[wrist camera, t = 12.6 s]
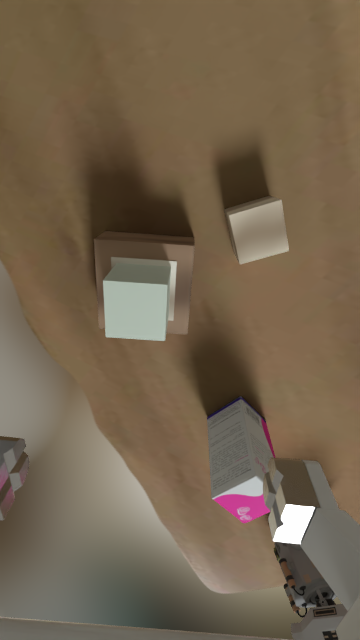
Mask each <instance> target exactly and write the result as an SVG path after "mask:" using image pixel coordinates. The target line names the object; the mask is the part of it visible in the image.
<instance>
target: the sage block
mask: <svg viewBox="0 0 360 640" xmlns="http://www.w3.org/2000/svg"><path fill="white" fill-rule="evenodd" d="M170 280H171V267H168V266H154V265H139V264H124V263H116V265H115V266H114V267H113V268H112V270H111V271H110V272H109V273H108V275H107V276H106V277H105V279H104V280H103V291H104V312H105V332H106V337H113V338H127V339H142V340H157V341H165V337H166V331H167V324H168V317H169V300H170Z"/></svg>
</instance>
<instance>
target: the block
mask: <svg viewBox="0 0 360 640" xmlns="http://www.w3.org/2000/svg"><path fill="white" fill-rule="evenodd" d="M224 212H225V216H226V220H227V225H228V229H229V234H230V238H231V242H232V247H233V251H234V254H235V256H236V258H237V260H238V262H239V264H243V263H247V262H250V261H254V260H258V259H261V258H265V257H268V256H272V255H276V254H279V253H283V252H287V251H289V247H288V240H287V234H286V227H285V220H284V214H283V207H282V200H281V199H278V198H275V197H272V196H267V197H263V198H260V199H257V200H253V201H250V202H247V203H244V204H240V205H237V206H234V207H231V208H227V209H224Z"/></svg>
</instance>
